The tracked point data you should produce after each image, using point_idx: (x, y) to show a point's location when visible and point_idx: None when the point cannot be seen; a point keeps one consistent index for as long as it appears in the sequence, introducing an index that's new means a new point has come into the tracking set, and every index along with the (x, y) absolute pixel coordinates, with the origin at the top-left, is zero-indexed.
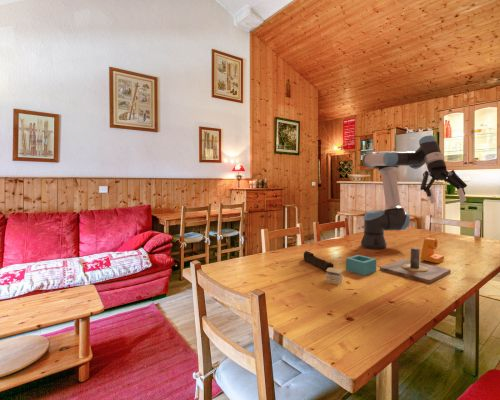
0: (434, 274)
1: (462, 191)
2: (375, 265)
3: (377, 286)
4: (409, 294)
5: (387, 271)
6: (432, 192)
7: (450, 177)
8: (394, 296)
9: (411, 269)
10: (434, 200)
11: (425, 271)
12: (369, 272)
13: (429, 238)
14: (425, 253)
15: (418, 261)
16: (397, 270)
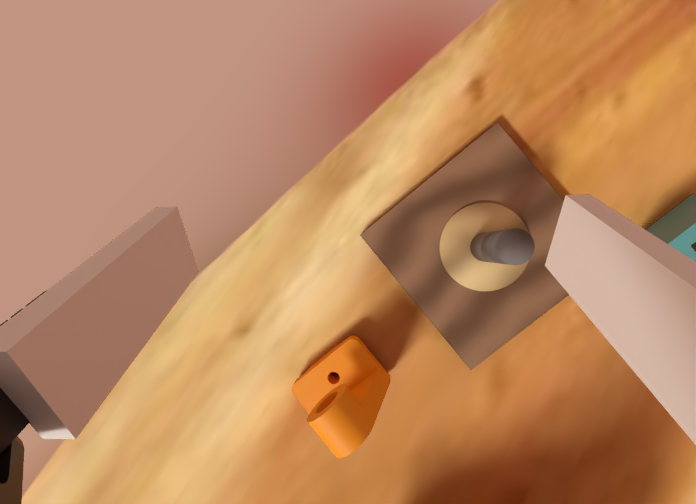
0: (449, 179)
1: (64, 287)
2: None
3: (683, 92)
4: (606, 33)
5: None
6: (690, 275)
7: None
8: (661, 14)
9: (509, 222)
10: (590, 198)
11: (465, 206)
12: (668, 215)
13: (344, 432)
14: (376, 378)
15: (487, 232)
16: None
